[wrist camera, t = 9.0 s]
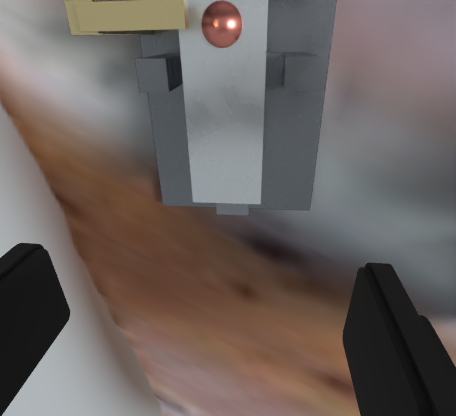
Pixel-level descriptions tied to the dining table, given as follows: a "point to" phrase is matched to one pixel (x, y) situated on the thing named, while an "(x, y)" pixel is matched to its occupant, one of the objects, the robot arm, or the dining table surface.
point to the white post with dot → (225, 98)
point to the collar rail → (274, 91)
